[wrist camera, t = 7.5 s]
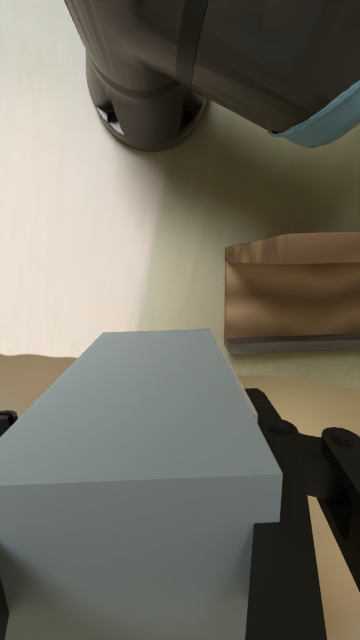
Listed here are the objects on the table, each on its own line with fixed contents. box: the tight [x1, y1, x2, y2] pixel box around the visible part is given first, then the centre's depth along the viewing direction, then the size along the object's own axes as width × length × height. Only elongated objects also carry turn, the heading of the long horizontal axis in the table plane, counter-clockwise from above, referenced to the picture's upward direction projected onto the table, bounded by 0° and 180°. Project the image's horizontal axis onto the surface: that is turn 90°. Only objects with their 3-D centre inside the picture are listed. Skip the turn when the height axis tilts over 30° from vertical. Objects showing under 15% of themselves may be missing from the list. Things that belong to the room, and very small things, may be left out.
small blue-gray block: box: [0, 329, 283, 640], centre depth 12 cm, size 6×7×12 cm
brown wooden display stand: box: [224, 231, 360, 354], centre depth 30 cm, size 15×22×22 cm
